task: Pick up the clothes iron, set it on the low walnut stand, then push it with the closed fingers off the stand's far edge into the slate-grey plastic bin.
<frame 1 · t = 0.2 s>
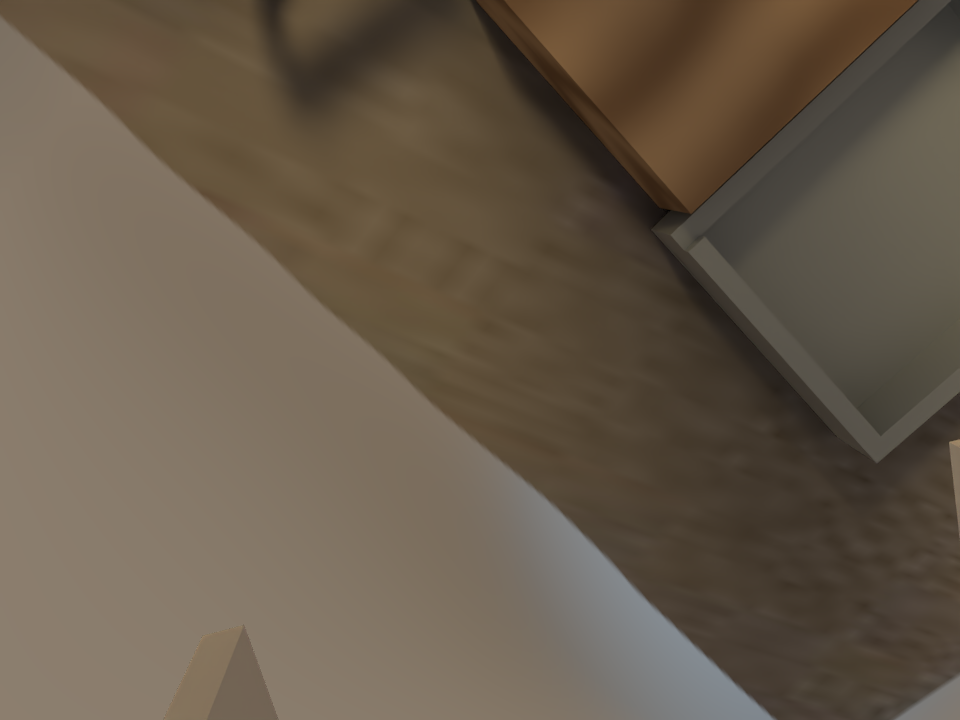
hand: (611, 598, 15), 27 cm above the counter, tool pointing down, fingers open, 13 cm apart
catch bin: (882, 214, 41), on the counter
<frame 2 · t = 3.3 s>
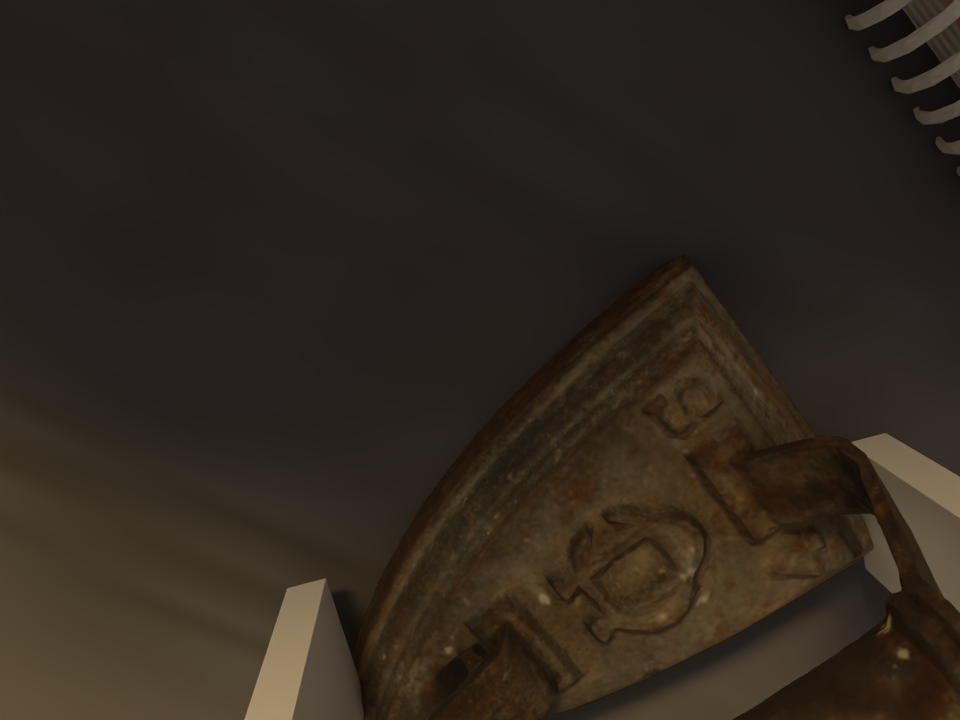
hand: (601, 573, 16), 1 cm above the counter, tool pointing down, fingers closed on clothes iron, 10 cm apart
clothes iron: (556, 550, 17), on the counter, touching gripper
when the fingers open (7 cm above the counter, at t = 8.6 s): clothes iron drops 1 cm, resting on walnut stand.
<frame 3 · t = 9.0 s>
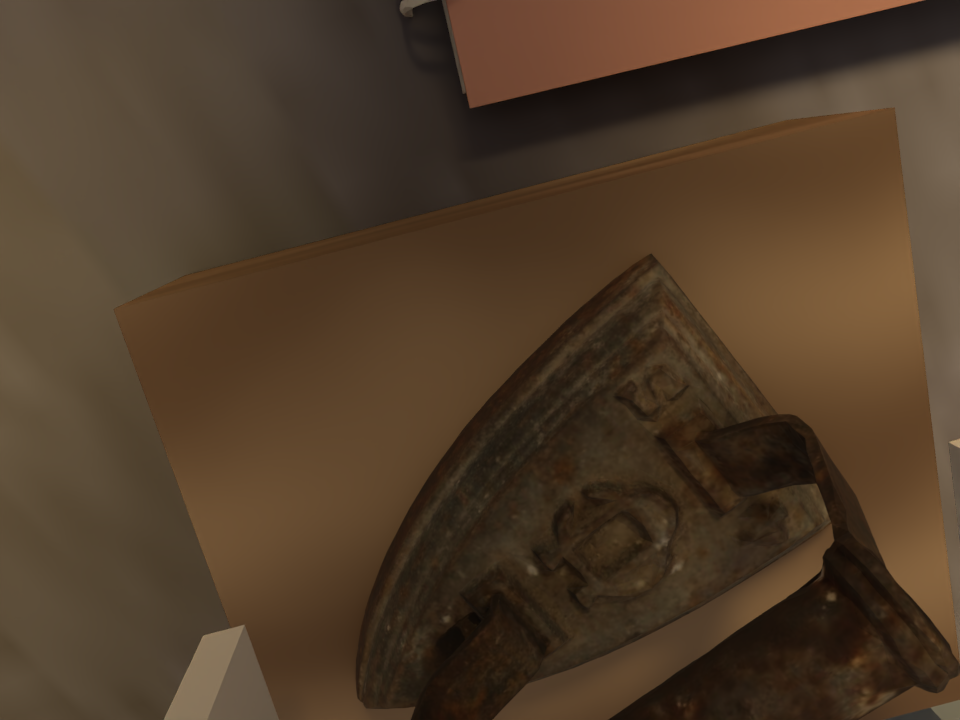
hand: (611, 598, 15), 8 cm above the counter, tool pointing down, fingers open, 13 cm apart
clothes iron: (545, 528, 18), point 5 cm above the counter, touching walnut stand
walnut stand: (546, 445, 23), on the counter
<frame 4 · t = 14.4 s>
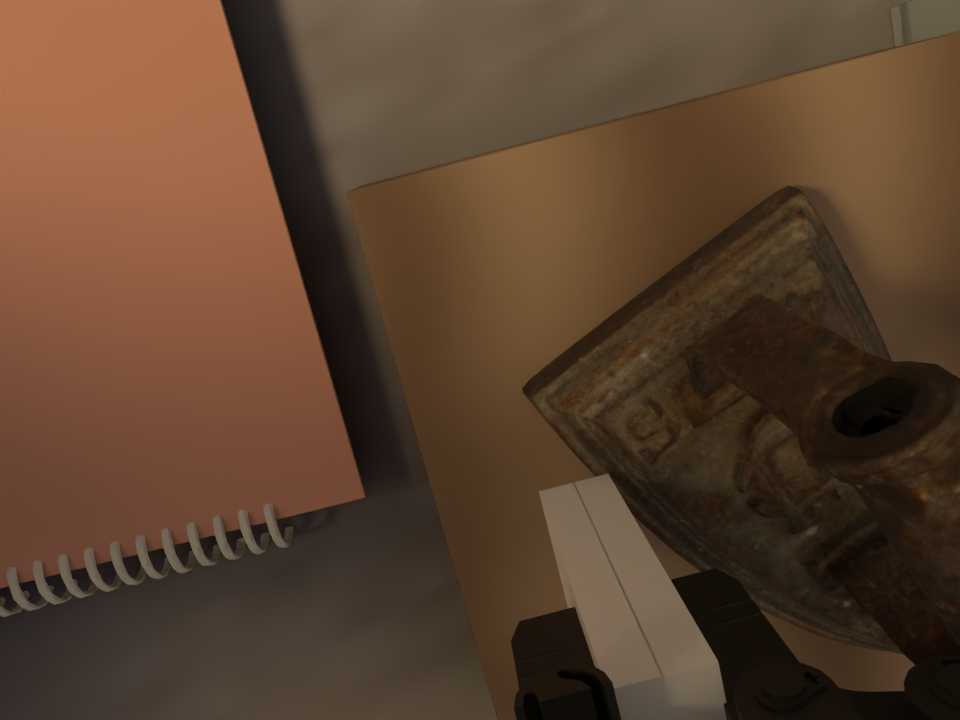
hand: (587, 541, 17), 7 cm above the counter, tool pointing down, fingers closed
clothes iron: (777, 469, 19), point 5 cm above the counter, touching gripper
walnut stand: (677, 399, 23), on the counter
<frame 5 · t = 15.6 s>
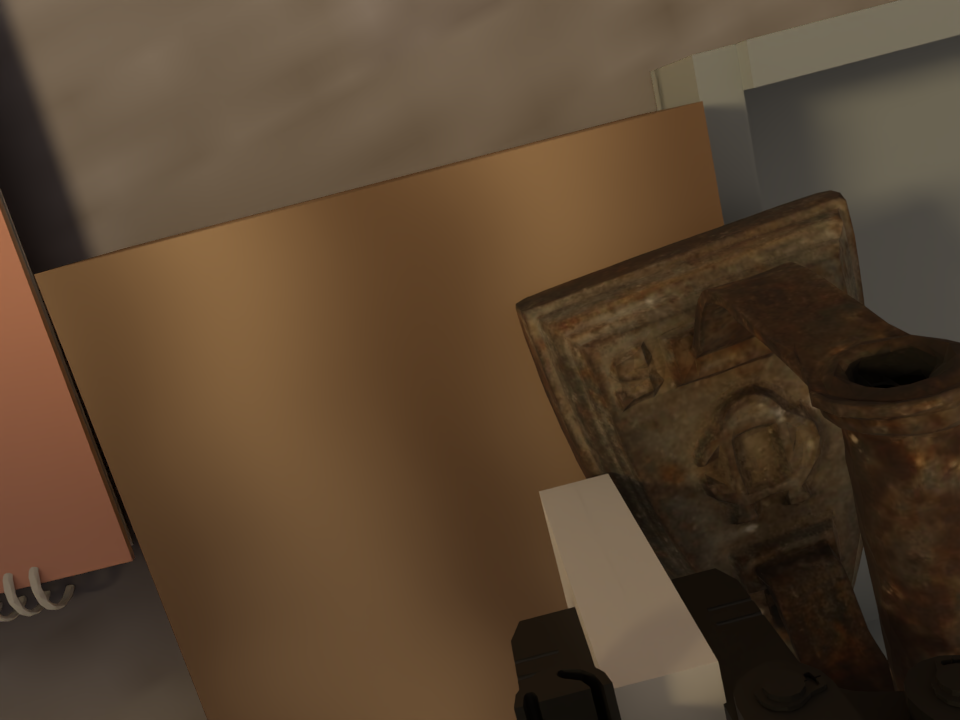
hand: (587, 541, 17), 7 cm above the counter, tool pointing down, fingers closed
clothes iron: (729, 469, 19), point 5 cm above the counter, touching gripper, walnut stand
walnut stand: (457, 459, 23), on the counter
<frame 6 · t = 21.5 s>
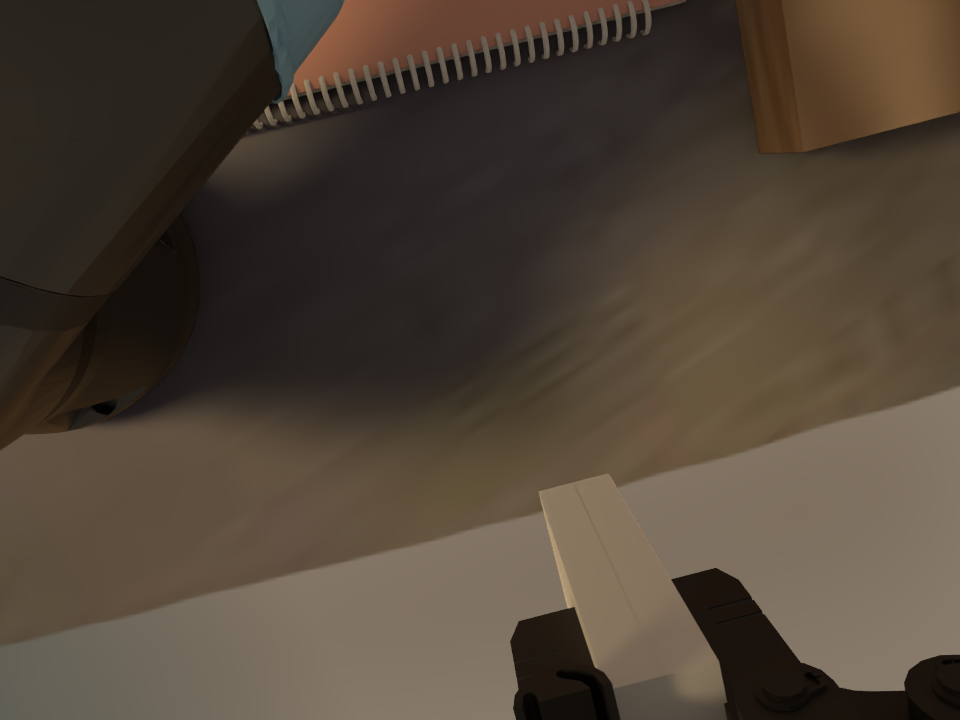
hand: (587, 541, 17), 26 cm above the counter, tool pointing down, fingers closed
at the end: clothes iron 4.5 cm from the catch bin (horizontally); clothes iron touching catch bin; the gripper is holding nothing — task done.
